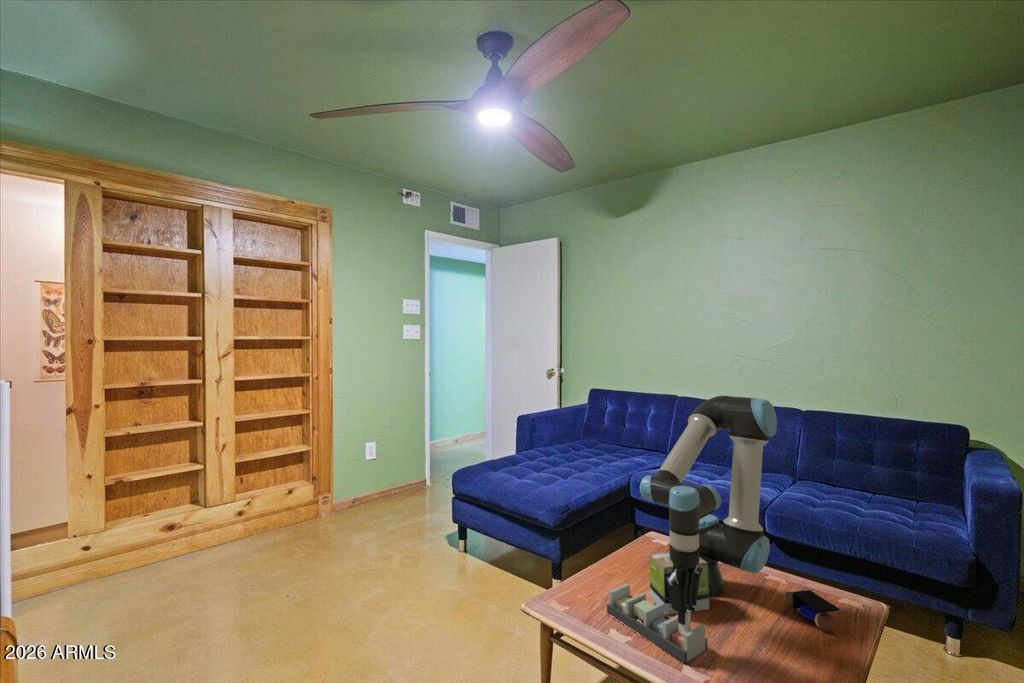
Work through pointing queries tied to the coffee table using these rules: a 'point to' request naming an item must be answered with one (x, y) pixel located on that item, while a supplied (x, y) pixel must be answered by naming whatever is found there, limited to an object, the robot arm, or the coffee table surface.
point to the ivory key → (621, 604)
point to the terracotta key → (678, 639)
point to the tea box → (659, 586)
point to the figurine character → (813, 608)
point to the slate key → (658, 625)
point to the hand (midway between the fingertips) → (684, 634)
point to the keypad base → (692, 639)
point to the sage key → (641, 608)
